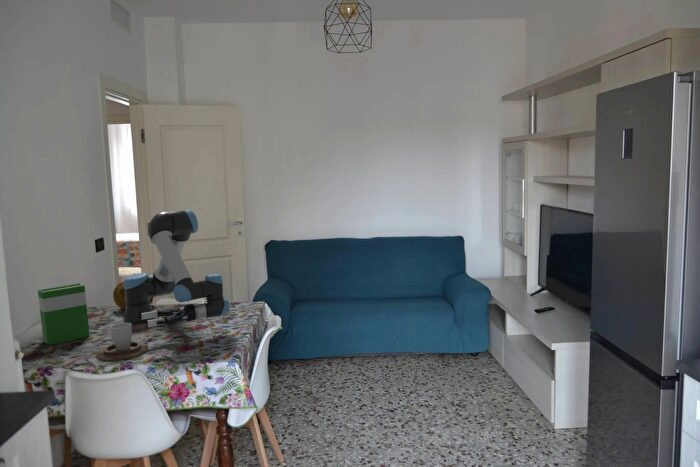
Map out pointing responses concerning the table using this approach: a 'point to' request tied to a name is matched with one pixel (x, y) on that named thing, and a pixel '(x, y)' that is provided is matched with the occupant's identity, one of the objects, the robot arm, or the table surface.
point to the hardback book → (63, 313)
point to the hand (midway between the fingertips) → (144, 320)
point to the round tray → (116, 358)
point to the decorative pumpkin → (121, 296)
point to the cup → (122, 335)
